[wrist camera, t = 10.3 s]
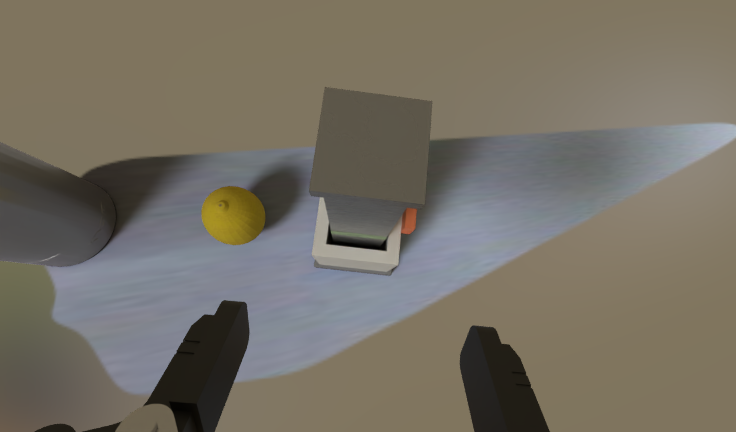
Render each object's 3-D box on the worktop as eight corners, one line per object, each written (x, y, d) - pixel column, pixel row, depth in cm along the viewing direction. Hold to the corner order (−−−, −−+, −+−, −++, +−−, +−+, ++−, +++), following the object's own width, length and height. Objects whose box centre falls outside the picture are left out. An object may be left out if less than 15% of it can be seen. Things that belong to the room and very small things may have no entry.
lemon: (273, 199, 38) (254, 175, 30) (271, 249, 37) (251, 237, 29) (222, 200, 38) (190, 174, 30) (218, 250, 37) (183, 237, 29)
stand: (315, 267, 37) (301, 254, 26) (324, 200, 39) (316, 160, 27) (392, 276, 37) (412, 267, 26) (398, 208, 39) (419, 173, 28)
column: (328, 247, 30) (309, 190, 14) (335, 195, 32) (325, 87, 15) (382, 253, 31) (425, 204, 14) (387, 201, 32) (432, 101, 15)
